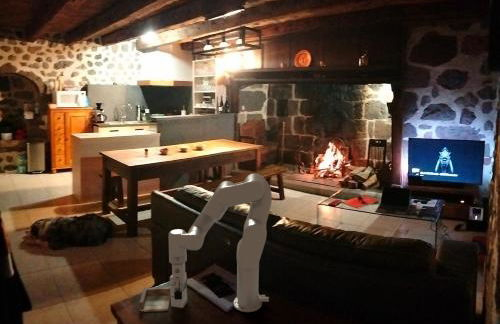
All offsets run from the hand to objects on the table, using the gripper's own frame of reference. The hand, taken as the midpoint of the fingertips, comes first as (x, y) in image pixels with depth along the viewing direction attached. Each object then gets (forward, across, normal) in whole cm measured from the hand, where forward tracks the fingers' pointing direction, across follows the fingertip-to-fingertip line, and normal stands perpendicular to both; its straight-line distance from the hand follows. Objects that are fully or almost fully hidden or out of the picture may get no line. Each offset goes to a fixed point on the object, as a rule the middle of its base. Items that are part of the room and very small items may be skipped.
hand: (179, 293), depth 180 cm
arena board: (+5, +1, +10) cm, 12 cm away
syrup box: (+5, 0, 0) cm, 5 cm away
